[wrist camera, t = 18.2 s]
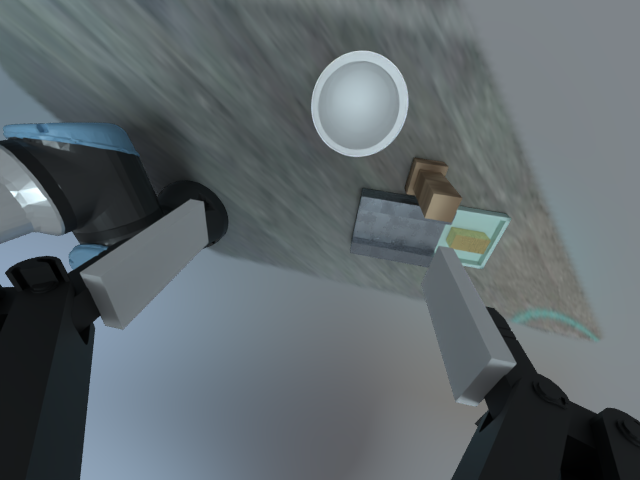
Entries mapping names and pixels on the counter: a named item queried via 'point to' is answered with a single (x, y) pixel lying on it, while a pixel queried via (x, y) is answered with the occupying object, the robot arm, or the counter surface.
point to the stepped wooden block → (432, 189)
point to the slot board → (395, 229)
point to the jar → (359, 103)
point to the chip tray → (480, 222)
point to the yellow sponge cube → (478, 242)
